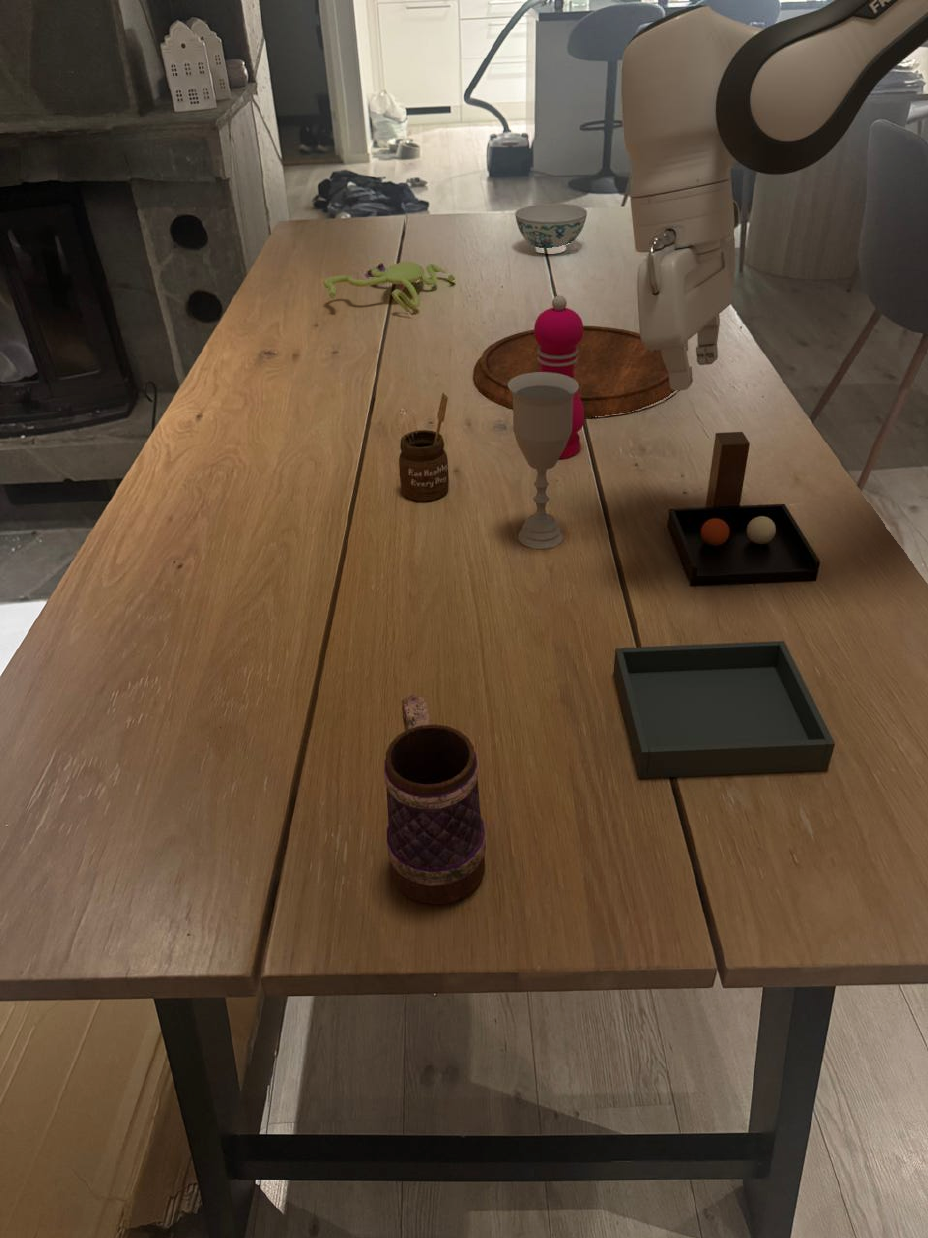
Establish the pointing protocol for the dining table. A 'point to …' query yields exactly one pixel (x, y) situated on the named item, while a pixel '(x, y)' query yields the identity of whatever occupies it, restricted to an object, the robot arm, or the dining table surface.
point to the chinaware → (550, 224)
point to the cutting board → (582, 370)
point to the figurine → (393, 280)
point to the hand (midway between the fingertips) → (695, 375)
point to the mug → (433, 809)
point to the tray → (719, 710)
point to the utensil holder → (424, 461)
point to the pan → (738, 530)
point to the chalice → (542, 441)
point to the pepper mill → (561, 355)
